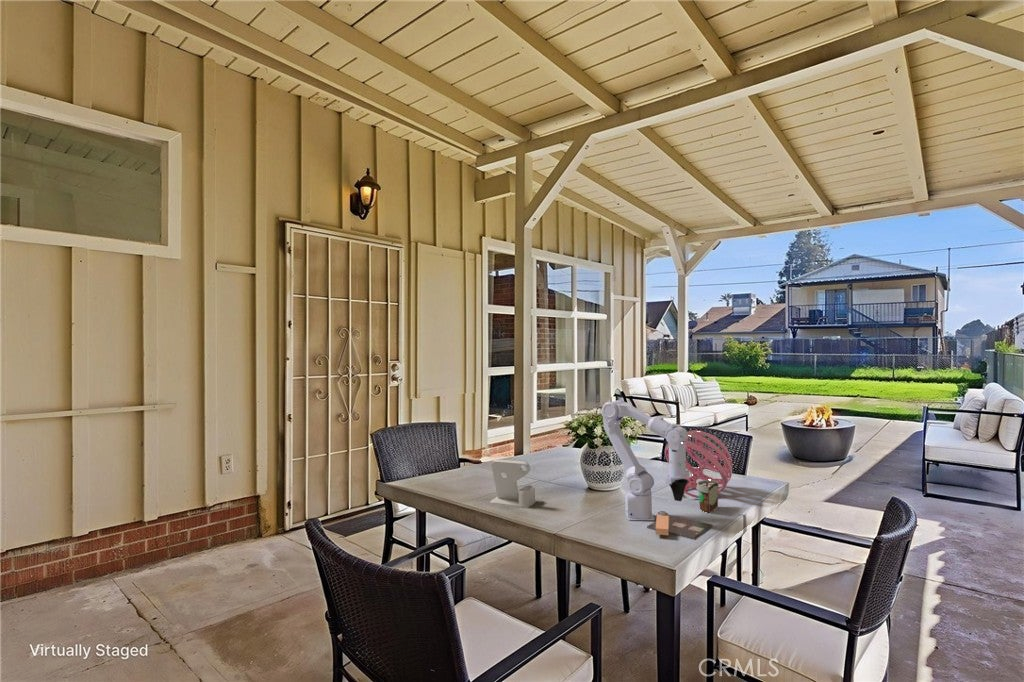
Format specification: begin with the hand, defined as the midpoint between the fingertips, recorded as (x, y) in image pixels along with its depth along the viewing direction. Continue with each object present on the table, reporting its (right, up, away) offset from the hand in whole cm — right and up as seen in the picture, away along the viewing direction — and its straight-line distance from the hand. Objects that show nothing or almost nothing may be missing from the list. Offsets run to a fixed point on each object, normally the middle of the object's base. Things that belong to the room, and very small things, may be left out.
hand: (678, 500), depth 180 cm
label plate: (0, -8, -2) cm, 9 cm away
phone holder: (-58, -10, +29) cm, 66 cm away
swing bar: (-7, -8, -5) cm, 11 cm away
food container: (+16, -9, +17) cm, 25 cm away
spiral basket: (+21, -9, +36) cm, 43 cm away
